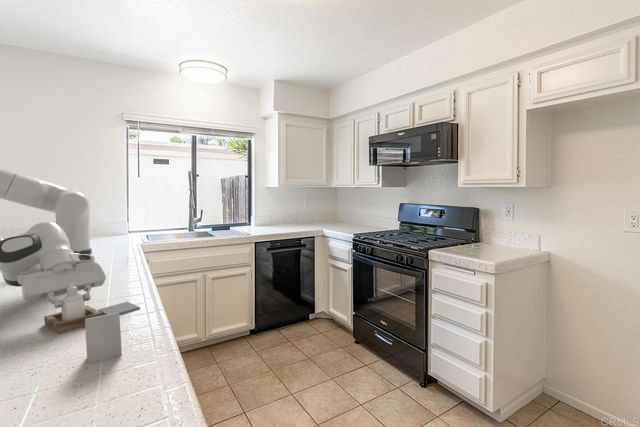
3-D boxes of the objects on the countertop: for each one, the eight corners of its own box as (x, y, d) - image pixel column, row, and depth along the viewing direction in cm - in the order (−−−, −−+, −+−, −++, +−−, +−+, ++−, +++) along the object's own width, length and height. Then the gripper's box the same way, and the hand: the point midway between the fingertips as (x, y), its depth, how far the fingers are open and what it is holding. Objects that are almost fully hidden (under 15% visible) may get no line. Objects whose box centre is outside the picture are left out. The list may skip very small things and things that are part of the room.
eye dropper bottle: (86, 322, 98) (84, 282, 97) (62, 327, 94) (59, 286, 93) (84, 317, 101) (82, 279, 100) (61, 322, 98) (59, 283, 97)
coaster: (98, 311, 107) (98, 309, 107) (127, 303, 114) (127, 301, 114) (110, 317, 102) (110, 315, 102) (140, 308, 109) (140, 307, 109)
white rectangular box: (121, 355, 79) (119, 315, 78) (87, 364, 75) (84, 321, 74) (120, 349, 82) (118, 310, 81) (87, 357, 78) (85, 316, 77)
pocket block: (44, 324, 96) (44, 316, 96) (88, 312, 105) (87, 305, 105) (57, 334, 90) (57, 325, 90) (102, 321, 99) (102, 313, 99)
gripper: (16, 266, 92) (29, 308, 87) (99, 254, 108) (113, 288, 104) (13, 279, 95) (26, 320, 90) (94, 265, 111) (108, 299, 107)
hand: (73, 303), depth 97 cm, fingers closed on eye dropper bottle, 6 cm apart
